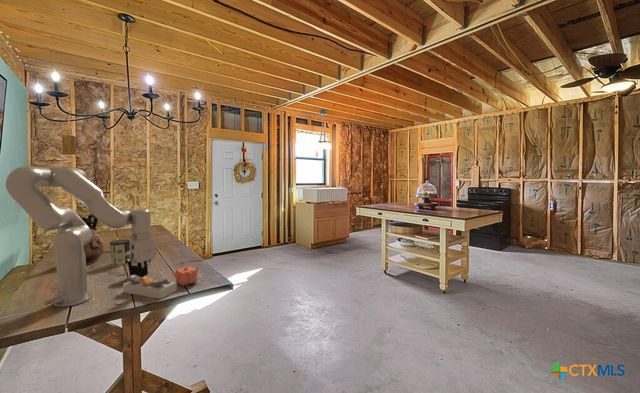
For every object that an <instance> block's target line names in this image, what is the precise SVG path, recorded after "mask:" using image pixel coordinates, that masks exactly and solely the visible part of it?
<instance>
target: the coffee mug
mask: <svg viewBox="0 0 640 393" xmlns="http://www.w3.org/2000/svg"><path fill="white" fill-rule="evenodd" d="M127 262H128V264H127V268H128V272H129V276H132V275H134V274H135V275H137V276H140V275H139V267H138V266H132V265H131V264H132V262H131V261H130V258H129V259H127ZM136 263H137V262H136ZM140 277H145V276H140Z"/></svg>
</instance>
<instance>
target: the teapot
mask: <svg viewBox="0 0 640 393" xmlns="http://www.w3.org/2000/svg"><path fill="white" fill-rule="evenodd" d="M199 268H201V265H199V266H197V267H196V268H194V267H192V266H184V267H182V268H181V267H180V268H177V269H175V271H171V272H170V274H172V275H173V276H174V278H175V282H176V284H178V285H180V286H182V287H186V286H189V285H192V284H196V283H198V270H199Z"/></svg>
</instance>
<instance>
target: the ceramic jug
mask: <svg viewBox="0 0 640 393" xmlns="http://www.w3.org/2000/svg"><path fill="white" fill-rule="evenodd" d="M80 218H81V219H82V220H83V221H84V222H85V223H86V224H87V226H88V227H89V228H90V229H91V231H92V239H91V240H90V241H89V242H88V243H87V244H85V245H83V249H84V252H85V257H86V265H88V264H93V263H95V262H97V261H99V259H100V257H101V256H102V255H103V253H104V251H105V244H104V242H103V239H102V238H101V236H100V235H99V234H98V233H97V232H96V228H97V225H98V221H99V219H97V218H96V217H95V216H94V215H93V214H92V213H91V214H89V215H88V216H87V218H86V217H80ZM92 219H93V220H92Z"/></svg>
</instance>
